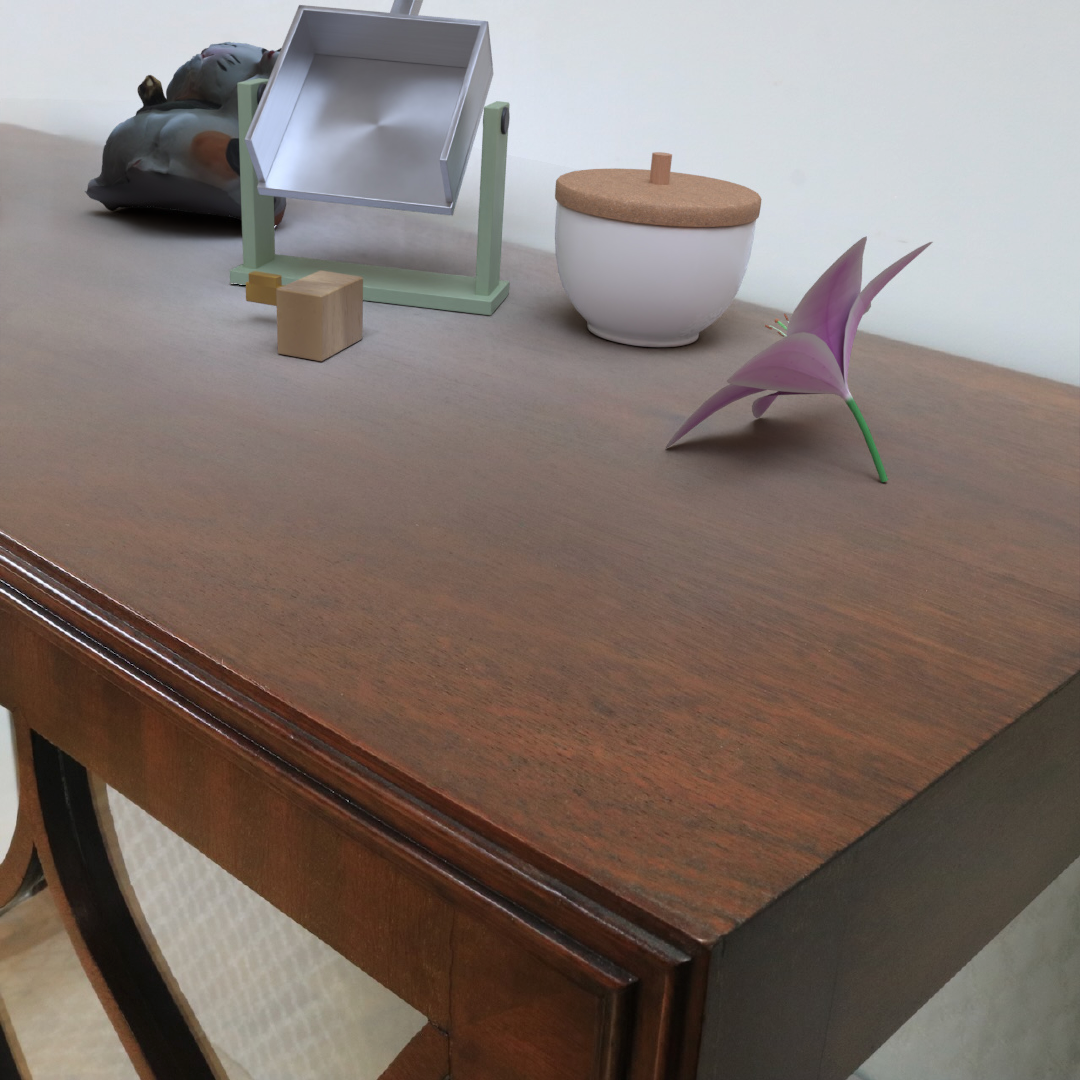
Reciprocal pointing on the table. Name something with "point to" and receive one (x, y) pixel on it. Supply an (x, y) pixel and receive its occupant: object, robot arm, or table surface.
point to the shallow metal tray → (372, 108)
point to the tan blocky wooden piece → (312, 311)
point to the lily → (811, 345)
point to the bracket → (378, 280)
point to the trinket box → (652, 250)
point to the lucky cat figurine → (185, 138)
